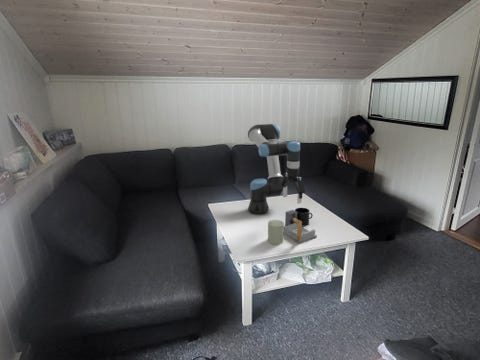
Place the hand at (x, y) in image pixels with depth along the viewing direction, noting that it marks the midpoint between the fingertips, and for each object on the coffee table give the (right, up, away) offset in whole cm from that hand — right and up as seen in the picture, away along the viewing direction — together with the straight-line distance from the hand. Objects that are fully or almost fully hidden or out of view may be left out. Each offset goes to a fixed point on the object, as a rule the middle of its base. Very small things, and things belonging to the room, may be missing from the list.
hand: (292, 200), depth 186 cm
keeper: (+3, -21, -6) cm, 22 cm away
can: (-12, -23, -12) cm, 29 cm away
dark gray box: (0, -17, +6) cm, 18 cm away
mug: (+9, -16, +10) cm, 21 cm away
